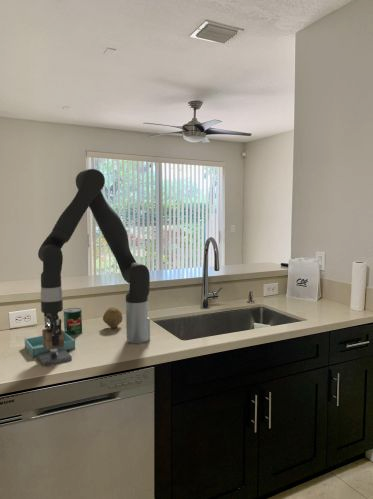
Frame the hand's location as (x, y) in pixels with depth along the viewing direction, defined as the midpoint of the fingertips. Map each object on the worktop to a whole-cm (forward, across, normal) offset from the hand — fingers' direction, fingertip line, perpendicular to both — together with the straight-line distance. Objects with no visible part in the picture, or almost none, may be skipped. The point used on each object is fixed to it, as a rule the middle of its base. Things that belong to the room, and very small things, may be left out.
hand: (53, 342), depth 136 cm
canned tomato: (+6, +26, -16) cm, 31 cm away
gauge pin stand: (+6, 0, 0) cm, 6 cm away
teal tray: (+6, +13, -2) cm, 15 cm away
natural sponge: (+6, +23, -34) cm, 42 cm away
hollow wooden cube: (+1, 0, 0) cm, 1 cm away
